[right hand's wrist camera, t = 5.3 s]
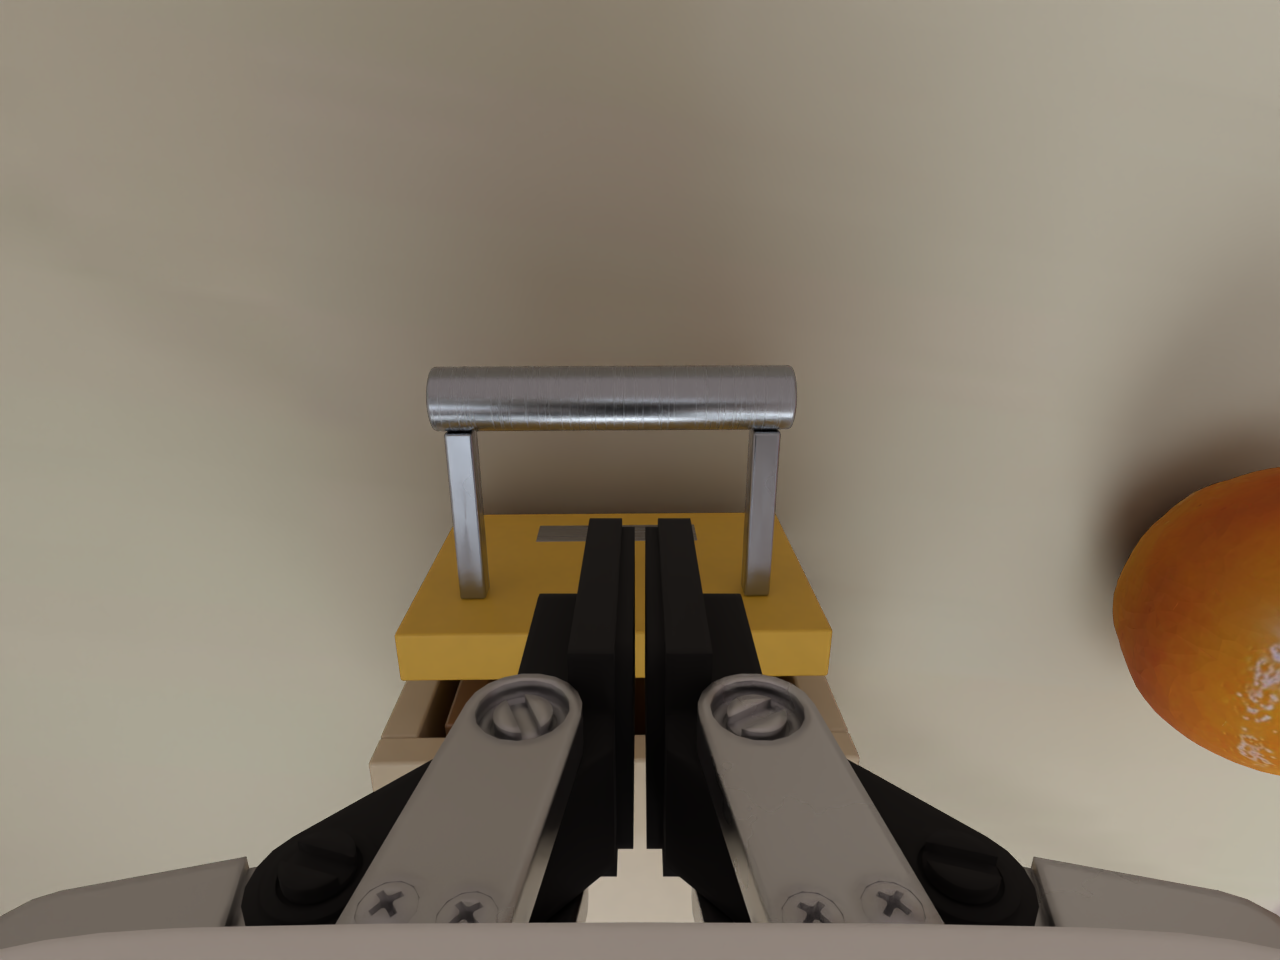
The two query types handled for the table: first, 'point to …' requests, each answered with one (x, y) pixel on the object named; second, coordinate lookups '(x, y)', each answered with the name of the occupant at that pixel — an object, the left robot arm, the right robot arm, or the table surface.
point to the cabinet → (639, 869)
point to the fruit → (1210, 618)
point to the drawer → (554, 543)
